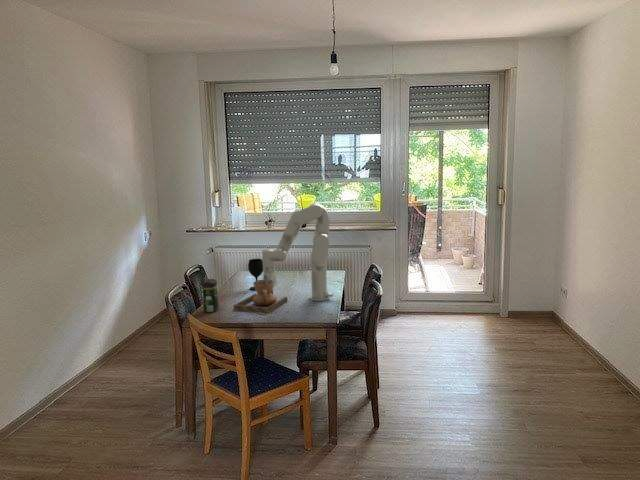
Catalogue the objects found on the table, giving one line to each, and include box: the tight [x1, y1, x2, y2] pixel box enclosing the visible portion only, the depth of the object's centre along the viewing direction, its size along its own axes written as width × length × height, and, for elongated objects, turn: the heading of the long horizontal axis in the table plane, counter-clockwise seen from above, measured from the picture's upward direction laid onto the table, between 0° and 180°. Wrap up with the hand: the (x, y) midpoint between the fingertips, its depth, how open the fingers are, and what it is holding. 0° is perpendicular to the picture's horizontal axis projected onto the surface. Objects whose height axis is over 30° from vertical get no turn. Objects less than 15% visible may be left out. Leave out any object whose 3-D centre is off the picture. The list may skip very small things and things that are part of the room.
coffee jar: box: [201, 278, 220, 313], centre depth 292 cm, size 10×8×19 cm
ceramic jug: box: [252, 279, 277, 307], centre depth 302 cm, size 18×14×14 cm
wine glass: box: [247, 258, 264, 292], centre depth 339 cm, size 10×10×20 cm
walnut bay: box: [233, 293, 288, 314], centre depth 300 cm, size 23×25×3 cm
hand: (270, 297), depth 311 cm, fingers closed
